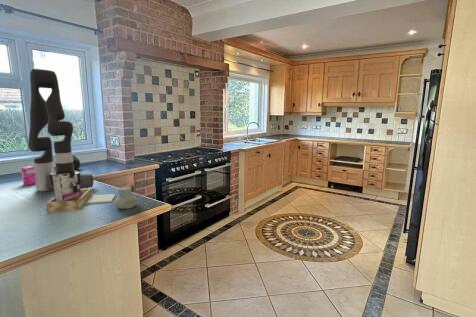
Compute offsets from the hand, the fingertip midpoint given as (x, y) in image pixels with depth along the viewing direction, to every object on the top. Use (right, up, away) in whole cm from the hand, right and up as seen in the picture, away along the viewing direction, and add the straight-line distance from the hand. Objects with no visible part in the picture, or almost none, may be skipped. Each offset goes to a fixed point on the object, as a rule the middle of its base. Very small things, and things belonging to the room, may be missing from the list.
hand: (67, 192), depth 135 cm
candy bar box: (0, -6, +1) cm, 6 cm away
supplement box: (-50, 0, +39) cm, 64 cm away
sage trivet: (+12, -5, +10) cm, 17 cm away
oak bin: (-1, -6, +4) cm, 7 cm away
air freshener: (+31, -7, -1) cm, 32 cm away
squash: (-49, +8, +78) cm, 92 cm away
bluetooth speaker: (-14, -2, +26) cm, 29 cm away
